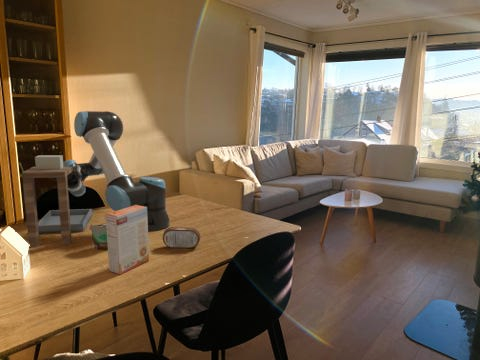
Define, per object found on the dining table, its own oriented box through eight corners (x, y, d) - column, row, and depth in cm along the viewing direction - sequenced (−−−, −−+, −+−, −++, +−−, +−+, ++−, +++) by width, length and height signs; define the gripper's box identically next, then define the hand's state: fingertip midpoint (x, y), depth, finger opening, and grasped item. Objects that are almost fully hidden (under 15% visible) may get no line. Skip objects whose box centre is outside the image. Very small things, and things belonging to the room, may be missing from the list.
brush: (60, 169, 144) (59, 156, 143) (36, 169, 142) (34, 157, 141) (69, 162, 160) (68, 151, 159) (47, 163, 158) (46, 151, 157)
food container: (92, 253, 137) (90, 228, 135) (90, 247, 143) (89, 223, 141) (125, 248, 143) (124, 224, 141) (122, 243, 148) (121, 220, 146)
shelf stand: (69, 245, 145) (64, 172, 138) (28, 247, 141) (21, 172, 135) (77, 233, 158) (72, 166, 152) (39, 235, 154) (33, 166, 148)
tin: (200, 246, 148) (200, 226, 146) (199, 249, 145) (199, 229, 143) (163, 245, 147) (163, 226, 145) (162, 248, 144) (161, 228, 142)
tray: (83, 231, 160) (83, 223, 160) (35, 233, 156) (34, 225, 155) (92, 215, 183) (91, 208, 182) (50, 217, 178) (49, 210, 178)
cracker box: (137, 257, 135) (136, 203, 131) (149, 261, 132) (148, 206, 128) (107, 271, 123) (104, 213, 119) (119, 275, 121) (117, 216, 116)
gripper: (97, 188, 186) (90, 175, 166) (45, 189, 180) (31, 176, 161) (98, 174, 188) (91, 160, 169) (46, 175, 183) (32, 160, 163)
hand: (62, 167), depth 165 cm, fingers open, 13 cm apart
